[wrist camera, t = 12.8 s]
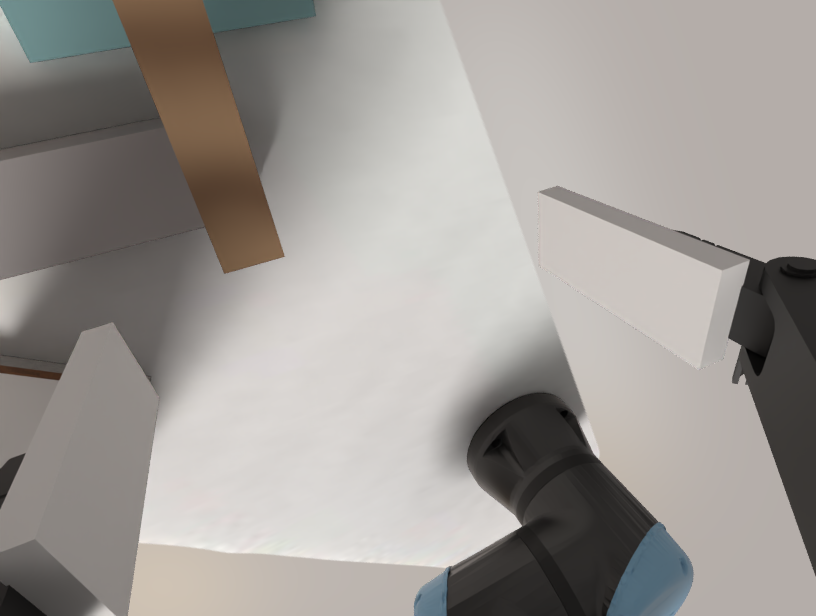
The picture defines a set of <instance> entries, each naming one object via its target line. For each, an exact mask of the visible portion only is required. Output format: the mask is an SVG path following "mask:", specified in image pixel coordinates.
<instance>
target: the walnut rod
mask: <svg viewBox="0 0 816 616" xmlns="http://www.w3.org/2000/svg"><path fill="white" fill-rule="evenodd" d="M112 1H113V3H114V6H115V8H116V10H117V13H118V15H119V18H120V20H121V23H122V25H123V28H124V30H125V32H126V35H127V37H128V40H129V42H130V45H131V47H132V49H133V52H134V54H135V57H136V59H137V62H138V64H139V67H140V69H141V71H142V74H143V76H144V79H145V81H146V84H147V86H148V89H149V91H150V93H151V96H152V98H153V101H154V103H155V106H156V108H157V111H158V113H159V115H160V118H161V120H162V123H163V125H164V128H165V130H166V132H167V135H168V137H169V140H170V142H171V145H172V147H173V150H174V152H175V154H176V157H177V159H178V162H179V164H180V167H181V169H182V172H183V174H184V176H185V179H186V181H187V184H188V186H189V189H190V191H191V193H192V196H193V198H194V201H195V203H196V206H197V208H198V211H199V213H200V215H201V218H202V220H203V223H204V225H205V228H206V230H207V233H208V235H209V237H210V240H211V242H212V245H213V247H214V250H215V252H216V255H217V257H218V259H219V262H220V264H221V267H222V269H223V272H224V274H225V273H229V272H232V271H236V270H239V269H243V268H246V267H250V266H253V265H257V264H260V263H264V262H268V261H271V260H275V259H278V258H282V257H285V256H284V253H283V250H282V247H281V244H280V240H279V237H278V234H277V231H276V228H275V225H274V222H273V219H272V215H271V212H270V209H269V206H268V203H267V200H266V197H265V194H264V190H263V187H262V184H261V181H260V178H259V175H258V172H257V169H256V166H255V162H254V159H253V156H252V153H251V150H250V147H249V144H248V141H247V137H246V134H245V131H244V128H243V125H242V122H241V119H240V116H239V112H238V109H237V106H236V103H235V100H234V97H233V94H232V91H231V87H230V84H229V81H228V78H227V75H226V72H225V69H224V66H223V62H222V59H221V56H220V53H219V50H218V47H217V44H216V41H215V37H214V34H213V31H212V28H211V25H210V22H209V19H208V16H207V12H206V9H205V6H204V3H203V0H112Z"/></svg>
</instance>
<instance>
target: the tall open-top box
mask: <svg viewBox="0 0 816 616" xmlns="http://www.w3.org/2000/svg"><path fill="white" fill-rule="evenodd" d="M66 365H67V364H60V363H53V362H46V361H39V360H32V359H25V358H18V357H11V356H4V355H0V469H1V467H2V466H3V465H4V464H5V463H6V462H7V461H8V460H9V459H10V458H13V457H16V456H19V455H22V454H24V453H26V452H27V450H28V448H29V446H30V443H31V441H32V439H33V437H34V435H35V432H36V430H37V428H38V426H39V424H40V422H41V419H42V417H43V415H44V413H45V411H46V408H47V406H48V404H49V402H50V400H51V398H52V395H53V393H54V391H55V389H56V387H57V384H58V382H59V380H60V378H61V376H62V374H63V371H64V369H65V367H66ZM146 377H147V378H148V380H149V382H150V380H151V376H146Z"/></svg>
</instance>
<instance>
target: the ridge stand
mask: <svg viewBox="0 0 816 616" xmlns="http://www.w3.org/2000/svg"><path fill="white" fill-rule="evenodd" d="M203 3H204V6H205V9H206V12H207V16H208V19H209V22H210V25H211V28H212V31H213V33H217V32H223V31H229V30H235V29H241V28H247V27H253V26H260V25H266V24H272V23H278V22H284V21H290V20H296V19H302V18H308V17H314V16H316V13H315V8H314V3H313V0H203ZM0 6H1V8H2V10H3V12H4V14H5V16H6V17H7V19H8V21H9V23H10V25H11V27H12V29H13V31H14V33H15V35H16V37H17V39H18V40H19V42H20V44H21V46H22V48H23V50H24V52H25V54H26V56H27V58H28V60H29V61H30V63H33V62H40V61H46V60H52V59H58V58H64V57H71V56H77V55H83V54H89V53H95V52H101V51H107V50H113V49H119V48H125V47H131V45H130V42H129V40H128V37H127V35H126V32H125V30H124V28H123V25H122V23H121V20H120V18H119V15H118V13H117V10H116V8H115V6H114V3H113V1H112V0H0Z"/></svg>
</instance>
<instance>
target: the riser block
mask: <svg viewBox="0 0 816 616" xmlns="http://www.w3.org/2000/svg"><path fill="white" fill-rule="evenodd" d="M203 227H205V225H204V223H203V220H202V218H201V215H200V213H199V211H198V208H197V206H196V203H195V201H194V198H193V196H192V193H191V191H190V189H189V186H188V184H187V181H186V179H185V176H184V174H183V172H182V169H181V167H180V164H179V162H178V159H177V157H176V154H175V152H174V150H173V147H172V145H171V142H170V140H169V137H168V135H167V132H166V130H165V128H164V125H163V123H162V120H161V118H155V119H150V120H145V121H140V122H135V123H130V124H125V125H120V126H115V127H110V128H105V129H100V130H95V131H90V132H85V133H80V134H75V135H70V136H65V137H60V138H55V139H50V140H45V141H40V142H36V143H31V144H26V145H21V146H16V147H11V148H6V149H1V150H0V280H2V279H6V278H10V277H14V276H17V275H21V274H25V273H29V272H33V271H37V270H41V269H45V268H48V267H52V266H56V265H60V264H64V263H68V262H72V261H76V260H79V259H83V258H87V257H91V256H95V255H99V254H103V253H106V252H110V251H114V250H118V249H122V248H126V247H130V246H134V245H137V244H141V243H145V242H149V241H153V240H157V239H161V238H164V237H168V236H172V235H176V234H180V233H184V232H188V231H192V230H195V229H199V228H203Z"/></svg>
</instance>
